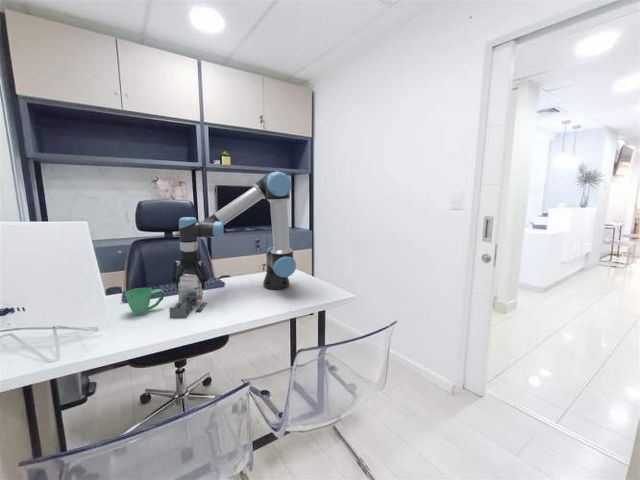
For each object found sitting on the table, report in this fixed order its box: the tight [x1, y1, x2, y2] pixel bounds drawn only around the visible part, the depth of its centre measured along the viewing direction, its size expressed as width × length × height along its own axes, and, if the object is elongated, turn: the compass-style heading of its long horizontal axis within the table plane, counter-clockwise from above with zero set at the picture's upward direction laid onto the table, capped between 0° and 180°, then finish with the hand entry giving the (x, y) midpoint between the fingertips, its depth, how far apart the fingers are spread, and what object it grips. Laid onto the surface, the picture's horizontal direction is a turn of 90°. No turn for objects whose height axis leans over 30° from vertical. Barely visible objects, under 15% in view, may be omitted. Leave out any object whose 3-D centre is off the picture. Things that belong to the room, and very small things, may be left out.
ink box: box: [180, 273, 201, 302], centre depth 144 cm, size 9×5×12 cm, turn 85°
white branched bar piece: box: [177, 290, 203, 307], centre depth 137 cm, size 11×8×7 cm
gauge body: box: [169, 301, 208, 319], centre depth 136 cm, size 11×17×4 cm
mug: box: [125, 287, 165, 316], centre depth 132 cm, size 15×10×10 cm
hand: (191, 295), depth 144 cm, fingers closed on ink box, 9 cm apart
